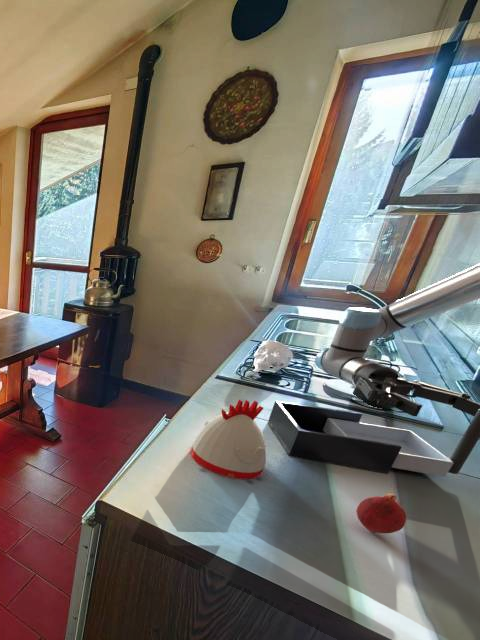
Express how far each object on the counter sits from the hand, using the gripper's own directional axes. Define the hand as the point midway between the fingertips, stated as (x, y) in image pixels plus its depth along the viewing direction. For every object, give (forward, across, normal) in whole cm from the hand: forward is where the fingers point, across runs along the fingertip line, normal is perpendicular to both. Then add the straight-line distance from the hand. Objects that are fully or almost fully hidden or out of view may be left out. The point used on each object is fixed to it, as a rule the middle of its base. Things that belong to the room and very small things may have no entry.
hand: (453, 412), depth 82 cm
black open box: (-5, +17, -13) cm, 22 cm away
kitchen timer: (+4, +44, -13) cm, 47 cm away
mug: (-33, -15, -13) cm, 39 cm away
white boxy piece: (-2, +7, -12) cm, 14 cm away
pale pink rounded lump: (-62, -1, -13) cm, 63 cm away
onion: (+24, +30, -13) cm, 41 cm away
